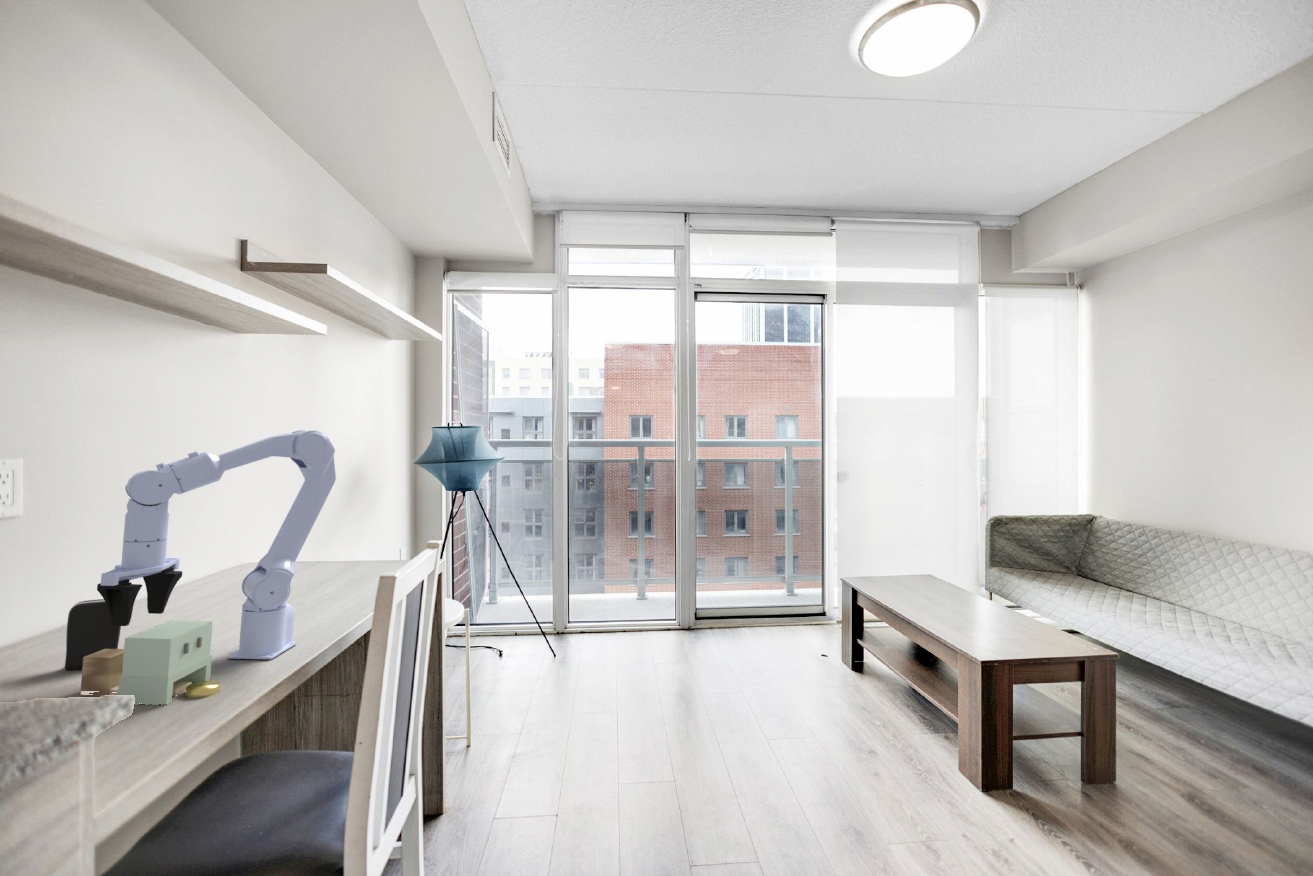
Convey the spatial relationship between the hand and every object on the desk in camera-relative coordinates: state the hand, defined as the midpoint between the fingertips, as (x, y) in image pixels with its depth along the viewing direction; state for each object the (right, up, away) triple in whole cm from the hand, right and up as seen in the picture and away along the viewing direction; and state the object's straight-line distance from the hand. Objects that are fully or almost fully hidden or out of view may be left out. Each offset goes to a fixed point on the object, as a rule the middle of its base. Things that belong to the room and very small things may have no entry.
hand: (138, 619), depth 101 cm
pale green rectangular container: (+10, -10, -6) cm, 15 cm away
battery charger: (-11, -9, +3) cm, 14 cm away
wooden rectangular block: (+6, -9, -7) cm, 13 cm away
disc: (+16, -10, -6) cm, 20 cm away
